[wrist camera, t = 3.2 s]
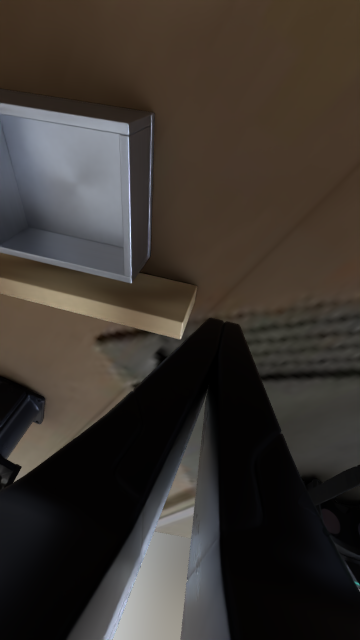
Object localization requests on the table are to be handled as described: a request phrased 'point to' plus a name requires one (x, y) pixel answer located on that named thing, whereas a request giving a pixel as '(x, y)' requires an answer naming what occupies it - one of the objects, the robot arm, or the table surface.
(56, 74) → the table surface
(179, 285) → the corner bracket
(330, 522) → the virtual reality headset
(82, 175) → the baking tin
